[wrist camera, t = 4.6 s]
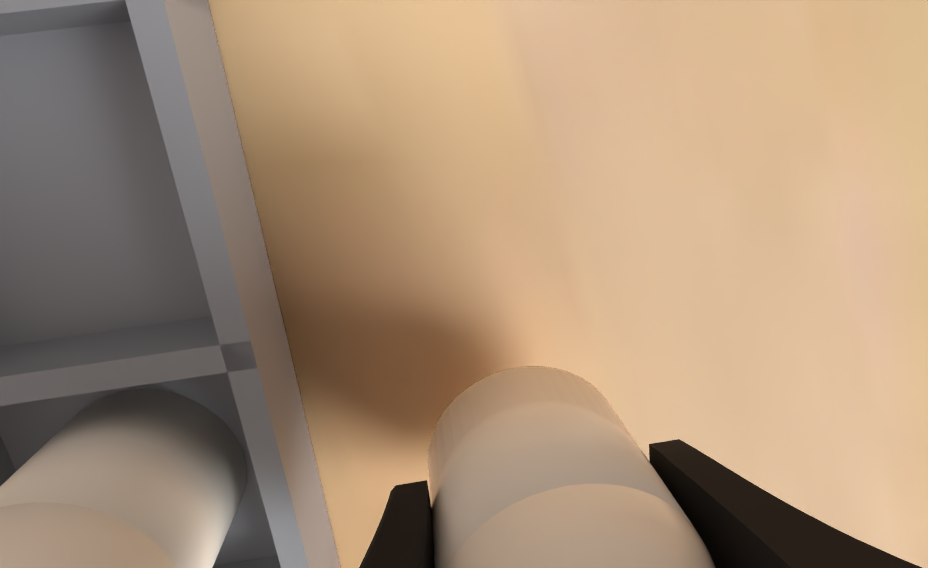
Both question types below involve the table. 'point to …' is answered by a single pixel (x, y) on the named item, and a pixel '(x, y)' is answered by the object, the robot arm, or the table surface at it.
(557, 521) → the egg
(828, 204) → the table surface
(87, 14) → the egg crate
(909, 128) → the table surface
